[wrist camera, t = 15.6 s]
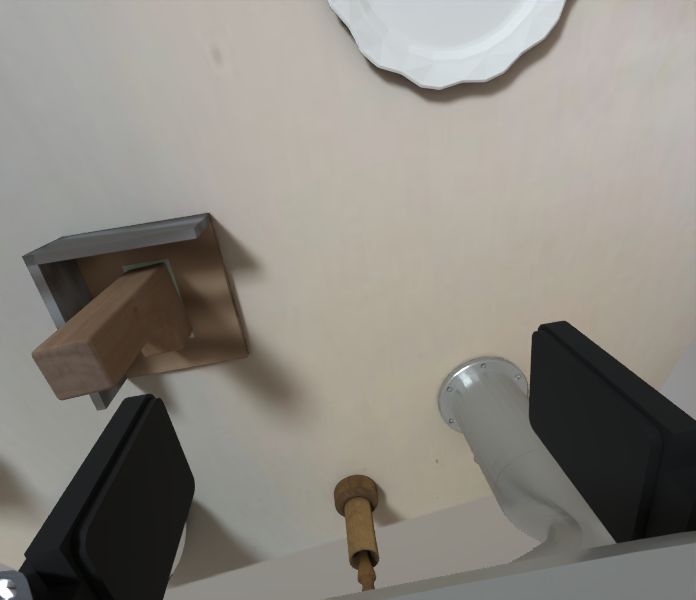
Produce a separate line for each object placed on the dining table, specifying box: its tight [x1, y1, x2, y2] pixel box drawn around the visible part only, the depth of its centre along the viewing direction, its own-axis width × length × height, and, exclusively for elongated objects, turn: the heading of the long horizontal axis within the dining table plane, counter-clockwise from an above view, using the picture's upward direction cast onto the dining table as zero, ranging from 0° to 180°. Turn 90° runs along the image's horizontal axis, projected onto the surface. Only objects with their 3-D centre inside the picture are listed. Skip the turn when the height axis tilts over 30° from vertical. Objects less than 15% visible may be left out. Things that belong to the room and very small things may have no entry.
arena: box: [22, 213, 249, 410], centre depth 46 cm, size 18×16×7 cm
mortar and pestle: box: [334, 475, 379, 592], centre depth 56 cm, size 7×6×18 cm
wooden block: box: [32, 263, 193, 400], centre depth 40 cm, size 9×4×18 cm, turn 12°
